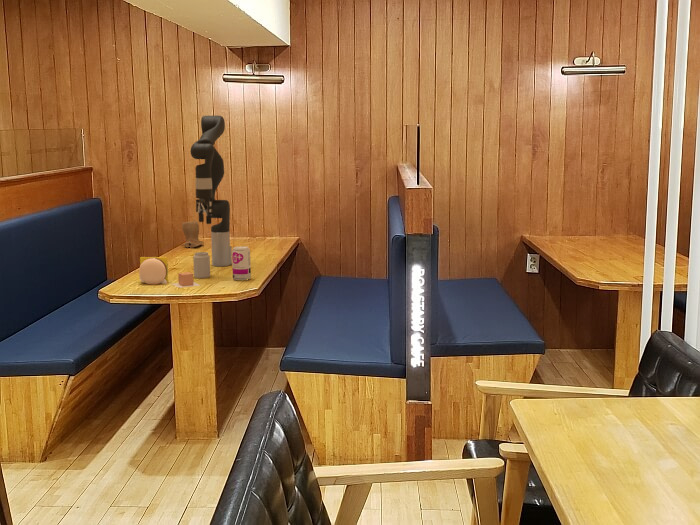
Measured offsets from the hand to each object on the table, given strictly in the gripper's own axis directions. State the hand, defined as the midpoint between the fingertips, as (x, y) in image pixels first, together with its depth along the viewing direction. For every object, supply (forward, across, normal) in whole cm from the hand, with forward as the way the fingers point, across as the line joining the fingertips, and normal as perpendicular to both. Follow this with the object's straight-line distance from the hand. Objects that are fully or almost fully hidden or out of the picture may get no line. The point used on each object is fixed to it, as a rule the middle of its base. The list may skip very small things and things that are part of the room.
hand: (205, 222), depth 361 cm
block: (+25, -11, +15) cm, 31 cm away
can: (+26, +1, +2) cm, 26 cm away
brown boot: (+27, +94, -32) cm, 103 cm away
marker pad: (+26, -11, +15) cm, 32 cm away
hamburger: (+26, 0, +26) cm, 37 cm away
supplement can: (+26, -12, -12) cm, 31 cm away
